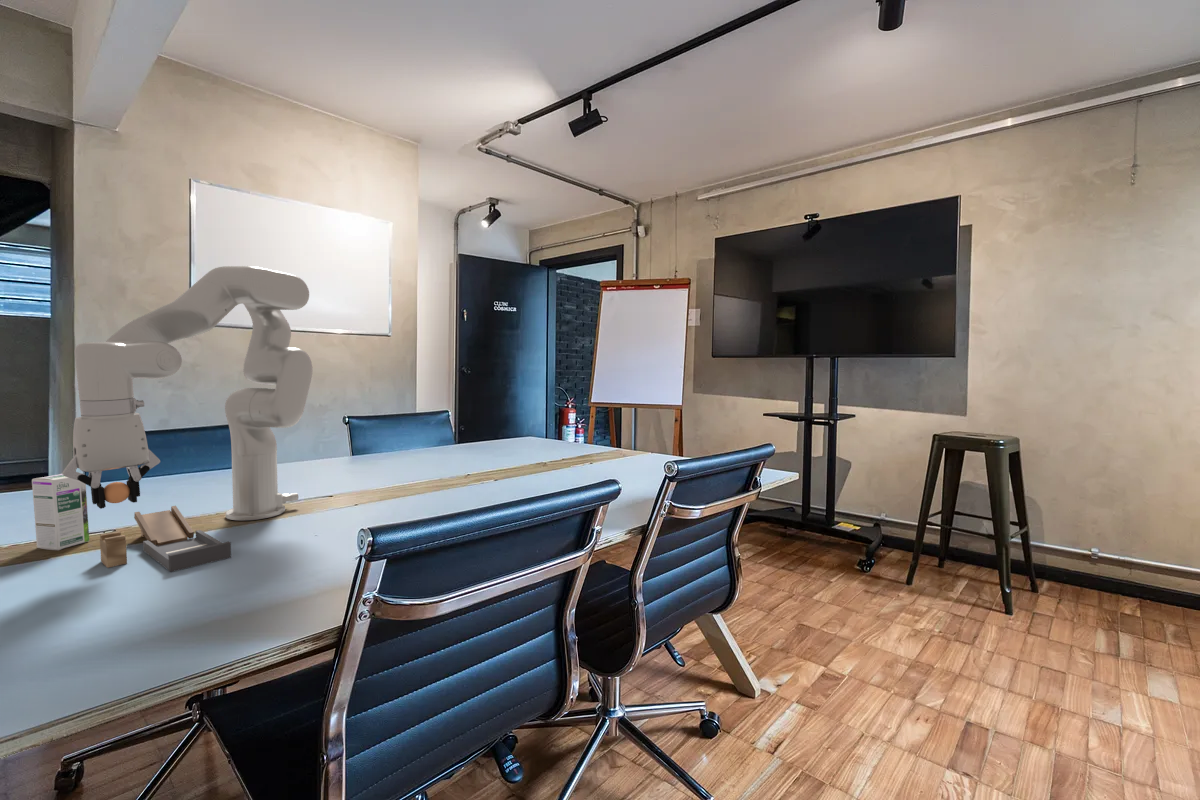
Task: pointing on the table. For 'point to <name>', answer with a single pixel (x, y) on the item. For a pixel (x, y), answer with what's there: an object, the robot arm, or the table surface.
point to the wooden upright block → (113, 549)
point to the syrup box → (60, 512)
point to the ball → (116, 492)
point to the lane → (188, 552)
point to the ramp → (164, 526)
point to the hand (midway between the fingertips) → (117, 503)
